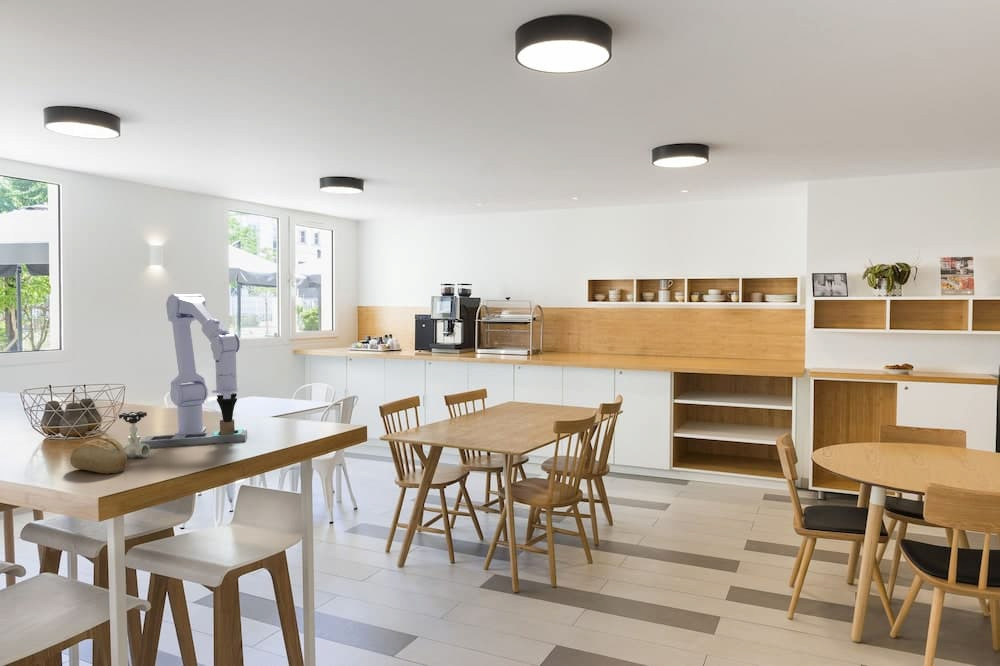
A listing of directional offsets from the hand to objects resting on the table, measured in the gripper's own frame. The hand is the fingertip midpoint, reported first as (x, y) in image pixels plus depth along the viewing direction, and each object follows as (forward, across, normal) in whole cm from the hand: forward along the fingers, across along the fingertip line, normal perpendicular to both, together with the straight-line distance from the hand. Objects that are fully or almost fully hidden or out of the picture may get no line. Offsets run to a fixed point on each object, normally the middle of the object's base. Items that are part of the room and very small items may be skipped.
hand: (227, 419), depth 206 cm
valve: (+6, +14, -23) cm, 28 cm away
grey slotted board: (+6, -1, -9) cm, 11 cm away
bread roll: (+6, +26, -30) cm, 40 cm away
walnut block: (+6, 0, 0) cm, 6 cm away
